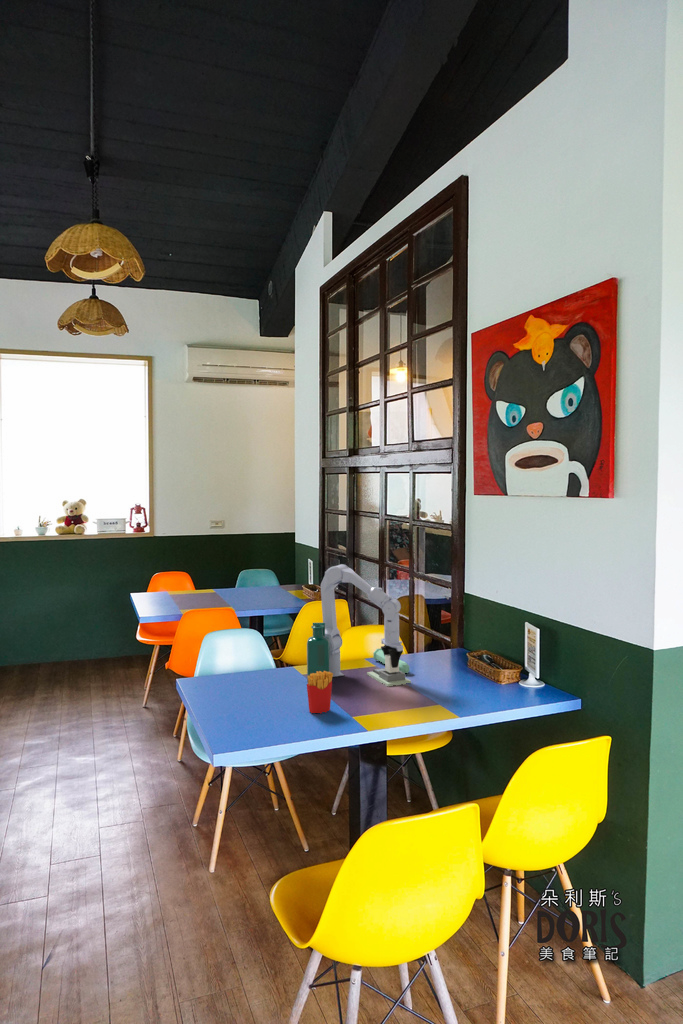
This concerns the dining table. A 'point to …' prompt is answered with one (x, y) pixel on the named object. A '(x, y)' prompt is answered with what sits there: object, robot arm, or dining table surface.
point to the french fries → (319, 691)
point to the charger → (388, 665)
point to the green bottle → (318, 650)
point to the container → (380, 657)
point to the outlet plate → (389, 677)
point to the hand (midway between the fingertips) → (392, 665)
